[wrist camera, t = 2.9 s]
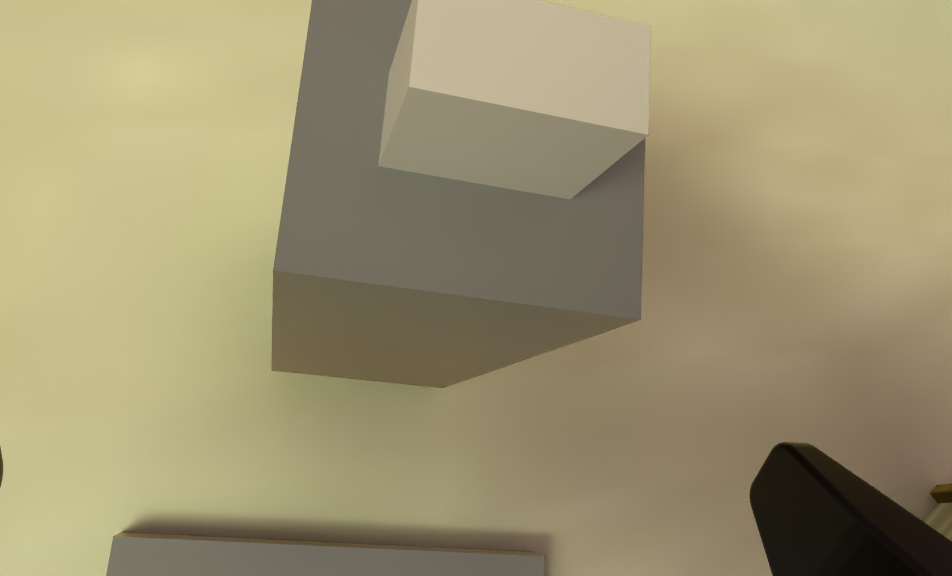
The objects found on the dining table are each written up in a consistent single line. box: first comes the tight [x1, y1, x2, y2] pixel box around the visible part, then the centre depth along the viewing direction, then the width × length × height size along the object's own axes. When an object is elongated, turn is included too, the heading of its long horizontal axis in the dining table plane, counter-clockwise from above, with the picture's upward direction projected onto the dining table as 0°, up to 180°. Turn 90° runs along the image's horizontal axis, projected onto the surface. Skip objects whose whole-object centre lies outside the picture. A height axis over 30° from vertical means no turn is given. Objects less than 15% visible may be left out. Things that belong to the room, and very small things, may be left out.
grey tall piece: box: [272, 0, 651, 388], centre depth 13 cm, size 4×4×13 cm
